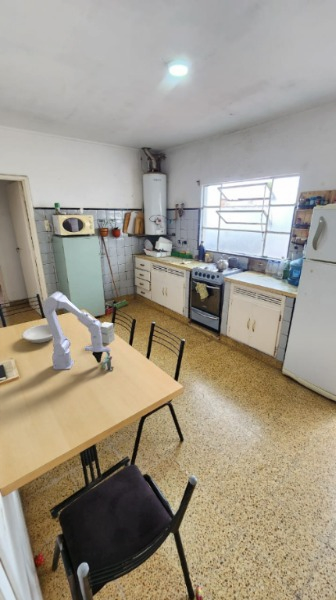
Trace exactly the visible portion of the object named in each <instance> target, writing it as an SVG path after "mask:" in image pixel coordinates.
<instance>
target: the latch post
mask: <svg viewBox="0 0 336 600" xmlns="http://www.w3.org/2000/svg"><path fill="white" fill-rule="evenodd" d="M106 368H107V369H106V371H107V372H113V371H114V366H112V359H111V360H107V366H106Z"/></svg>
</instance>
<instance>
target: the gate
mask: <svg viewBox="0 0 336 600" xmlns="http://www.w3.org/2000/svg"><path fill="white" fill-rule="evenodd" d="M105 353H106V352H105ZM102 360H103V361H102V370H106V368H107V360H109V354H108V353H106V354H105V356H104V359H102Z"/></svg>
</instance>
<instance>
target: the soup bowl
mask: <svg viewBox="0 0 336 600" xmlns="http://www.w3.org/2000/svg"><path fill="white" fill-rule="evenodd" d="M21 337H22V338H23V340H26V341H29V342H30V343H36V344H39V343H42V344H43V343H46V342H49V341H50V340H52V339H54V338H53V335H52V333H51V330H50V327H49V325H48V323H42V324H36V325H34V326H31V327H29V328H27V329H26V330H24V331H22V334H21Z"/></svg>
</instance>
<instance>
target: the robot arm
mask: <svg viewBox="0 0 336 600" xmlns="http://www.w3.org/2000/svg"><path fill="white" fill-rule="evenodd" d="M56 309H58V310H59V309H65V310H67V311H68V312H69V313H71V314H72V315H74V316H76V317H77V320H78V322H80V323H81V324H82V325H83V326H85V327H86V328H87V330H88V332H89V333H90V340H91V346H89V345H88V346H85V347H84V349H85V350H84V351H85V352H87V351H89V352H90V351H91V353H92V354H91V355H92V356H93V357H94V358H95V360H96V362H97V364H100V363H101V362H102V356H103V354H104V353H106V352H108V353H111V347H106V346H104V345H103V343H102V336H101V329H100V328H101V325H102V322H101V320H99V319H97V318H93V316H91V315H90V313H88V312H86V311H81V310H80V309H79V308H78V307H77V306H76V305H75V304H74V303H72V302H71V301H70V300H69V298H68V296H67V295H65V294H63V292H61V291H54V292H53V293H52V294H51V295H50V296H47V298H45V300H44V301H43V309H42V311H43V313H44V316H45V320H46V322H47V324H48V325H49V327H50V330H51V333H52V335H53V338H52V339H53V343H52V346H53V350H52V351H53V353H52V356H51V359H52V365H53V370H71V368H72V367H73V365H74V363H75V360H72V358H71V357H72V356H71V351H70V346H71V340H69V338H68V337H67V335H64V332H63V329H62V326H61V324H60V320H59V318H58V316H57V312H56Z"/></svg>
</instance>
